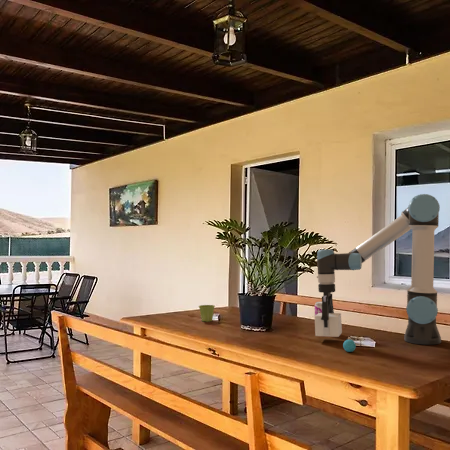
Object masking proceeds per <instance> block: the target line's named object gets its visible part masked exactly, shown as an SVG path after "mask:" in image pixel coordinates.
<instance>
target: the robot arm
mask: <svg viewBox="0 0 450 450" xmlns="http://www.w3.org/2000/svg"><path fill="white" fill-rule="evenodd" d="M439 212H440V203H439V201H438V199H437V197H435V196H433V195H431V194H426V193H421V194H417V195H416V196H414V197H412V199H411V200H410V201H409V203H408V207H407V208H405V209H404V210H402V211H401V214H400V216H398V217H396V219H394V220H392V221H391V222H389V223H388V224H387V225H385V226H384V227H383V228H381V229H380V230H379V231H377V232H376V233H374V234H373V235H371V236H370V237H368V238H367V239H366V240H365V241H363V242H362V243H361V244H359V245H357V246H356V247H355V248H354V249H352V250H351V251H349V252H347V253H346V252H345V253H335V252H334V250H333V249H319V250H318V251H317V255H316V261H317V262H316V263H317V264H316V265H317V276H316V278H317V281H318V288H317V289H318V292H319V293H323V295H322V296H321V302H322V318H321V320H323V335H330V326H329V313H335V312H334V311H335V310H334V303H333V293H335V292H336V284H335V283H336V274H335V271H359V270H362V267H363V266H362V265H363V263H365V262H366V261H367V260H369V259H371V257H372V256H375V255H376V254H377V253H379V252H380V251H382V250H383V249H385V248H386V247H387V246H389V245H390V244H392V243H393V242H395V241H396V240H398V239H399V238H401V237H402V236H403V235H405V234H406V233H407V232H409V231H411V230H412V231H411V232H412V233H411V234H412V239H411V279H410V280H411V285H410V287H408V289H407V292H406V293H407V294H406V297H407V298H406V301H407V302H406V303H407V304H406V306H405V307H406V309H405V310H406V313H407V326H406V329H405V332H404V337H403V338H404V341H405V342H407V343H410V344H416V345H422V346H423V345H425V346H427V345H428V346H429V345H431V346H433V345H439V344H441V343H442V336H441V334H440V332H439V329H438V326H437V316H438V312H439V310H438V291H437V290H436V289H435V288H434V278H435V277H434V271H435V270H434V268H435V267H434V266H435V265H434V264H435V231H436V229H438V228H439V220H440V219H439V217H440V216H439V215H440V214H439Z"/></svg>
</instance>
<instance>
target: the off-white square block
mask: <svg viewBox="0 0 450 450" xmlns="http://www.w3.org/2000/svg"><path fill="white" fill-rule="evenodd" d="M321 318H322V313H318V314H317V315H315V314H314V332H315V335H314V336H315V337H329V338H330V337H333V338H339V337H340V336H341V334H342V333H343V328H342V327H343V326H342V325H343V324H342V313H341V312H334V313H329V326H330V335H323V320H321Z"/></svg>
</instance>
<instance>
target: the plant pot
mask: <svg viewBox="0 0 450 450" xmlns="http://www.w3.org/2000/svg"><path fill="white" fill-rule="evenodd" d="M215 307H216V306H215V305H214V304H201V305H198V308H199V311H200V317H201V319H200V320H201V322H206V323H208V322H209V323H210V322H213V317H214V310H215Z"/></svg>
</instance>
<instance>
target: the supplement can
mask: <svg viewBox="0 0 450 450" xmlns="http://www.w3.org/2000/svg"><path fill="white" fill-rule="evenodd" d="M318 313H322V301H316V302H315V304H314V316H315V315H317V314H318Z"/></svg>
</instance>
